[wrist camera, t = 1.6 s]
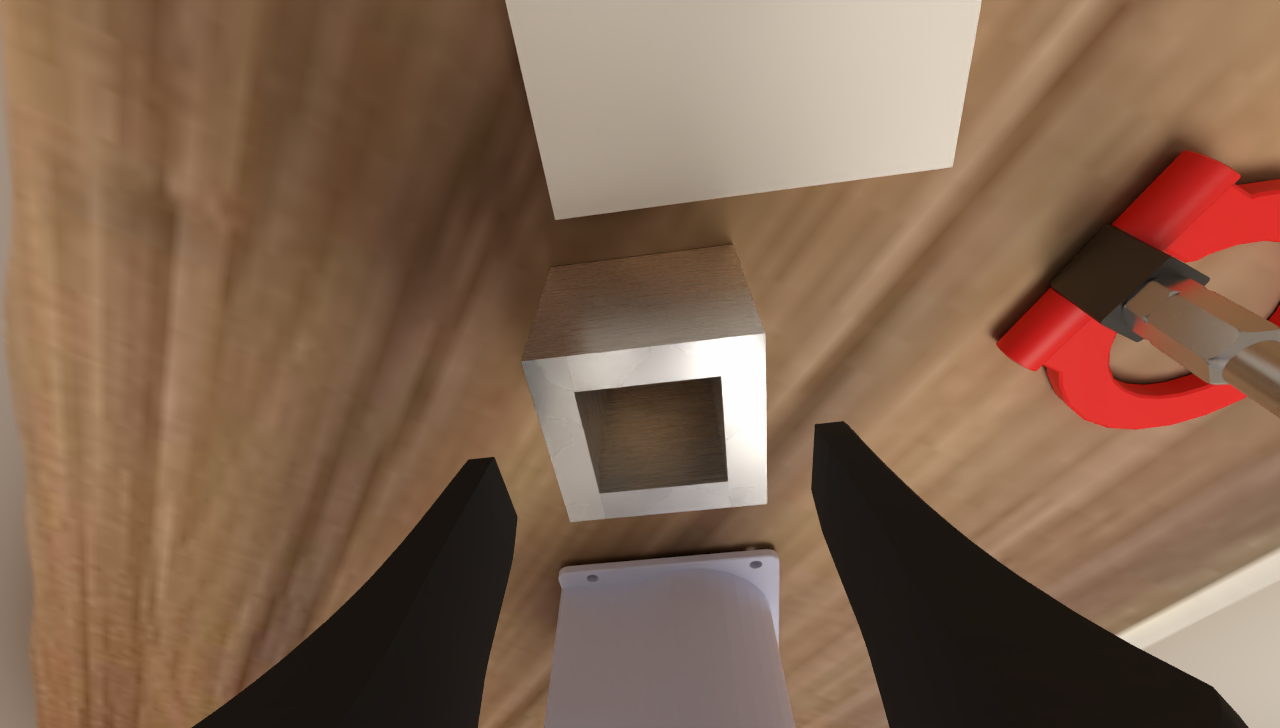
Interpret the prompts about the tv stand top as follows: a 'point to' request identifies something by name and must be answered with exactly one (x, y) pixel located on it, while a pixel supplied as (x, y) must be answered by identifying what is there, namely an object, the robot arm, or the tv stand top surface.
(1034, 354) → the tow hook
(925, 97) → the plate
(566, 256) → the tv stand top surface
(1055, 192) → the tv stand top surface
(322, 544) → the tv stand top surface
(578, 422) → the hollow square tube
